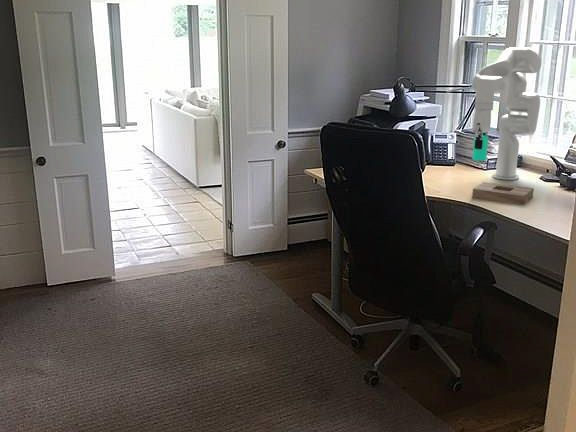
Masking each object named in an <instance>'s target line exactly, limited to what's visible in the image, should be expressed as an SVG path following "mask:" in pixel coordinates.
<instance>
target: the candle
mask: <svg viewBox="0 0 576 432" xmlns="http://www.w3.org/2000/svg"><path fill="white" fill-rule="evenodd" d="M479 135H480V134H479ZM480 136H481V135H480ZM482 140H483V143H482V149H475V135H474V137H473V147H472V160H473V161H477V162H483V161H486V160H487V155H488V145H489V136H488V135H487V136H485V135H483V136H482Z"/></svg>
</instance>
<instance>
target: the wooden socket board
mask: <svg viewBox="0 0 576 432" xmlns="http://www.w3.org/2000/svg"><path fill="white" fill-rule="evenodd" d="M534 190H535V188H534V187H526V186H520V185H519V186H518V185H513V184H511V185H510V184H504V183H503V184H502V183H496V182H495V183H494V182H488V181H487V182H486V181H483V182H482V183H480V184H478V185H477V186H475V187H473V188H472V192H471V193H472V194H471V195H472V196H471V197H472V199H479V200H486V201H494V202H501V203H508V204H513V205H514V204H515V205H522V206H523V205H525V204H527V203H528V202H529V201H530V200H532V199H533V197H534Z"/></svg>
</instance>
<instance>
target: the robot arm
mask: <svg viewBox="0 0 576 432" xmlns="http://www.w3.org/2000/svg"><path fill="white" fill-rule="evenodd" d="M541 67H542V58H541V56H540V55H539V54H538V53H537V51H536V50H535V49H533V48H530V47H509V48H506V49H505V50H503V52H502V53H501V55H500V56H499V57H498V59H497V60H496V61H495V62H494V63H490V64H489V65H486V66H484V67H482V68H481V69H479V70H478V71H477V73H476V74H475V75H474V76H473V78H472V81H471V89H472V91H473V92H475V99H474V100H475V102H474V103H475V104H474V110H475V112H474V115H473V124H472V129H471V130H472V131H471V132H472V133H473V134H474V136H475V149H482V143H483V140H482V136H483V135H485V136H487V137H488V132H490V129H491V121H492V111H493V110H494V101H495V100H494V99H495V95H497V94H499V95H500V94H502V93H503V92H504V90H505V89H506V88H507V90H506V96H505V103H504V104H505V105H504V107H505V110H507V111H509V112H514V113H526V114H527V115H524V114H514V113H513V114H511V113H509V114H507V113H506V114H504V115H502V116H501V117H500V118H499V119H498V135H499V138H498V148H497V158H496V159H497V161H496V168H495V172H494V173H492V178H494V179H498V180H502V181H503V180H505V181H513V180H519V178H520V176H519V175H518V174H517V166H518V159H519V150H520V149H519V148H520V142H519V141H520V140H519V139H518V137H517V135H519V136H533V135H534V134H535V132H536V129H537V124H538V119H539V113H540V107H541V99H540V95H539V94H537V93H534V92H527V84H528V82H527V78H526V77H525V75H524V74H536V73H538V72H539V71H540V69H541ZM506 78H507V81H506ZM506 86H507V87H506ZM480 135H481V136H480Z"/></svg>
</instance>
